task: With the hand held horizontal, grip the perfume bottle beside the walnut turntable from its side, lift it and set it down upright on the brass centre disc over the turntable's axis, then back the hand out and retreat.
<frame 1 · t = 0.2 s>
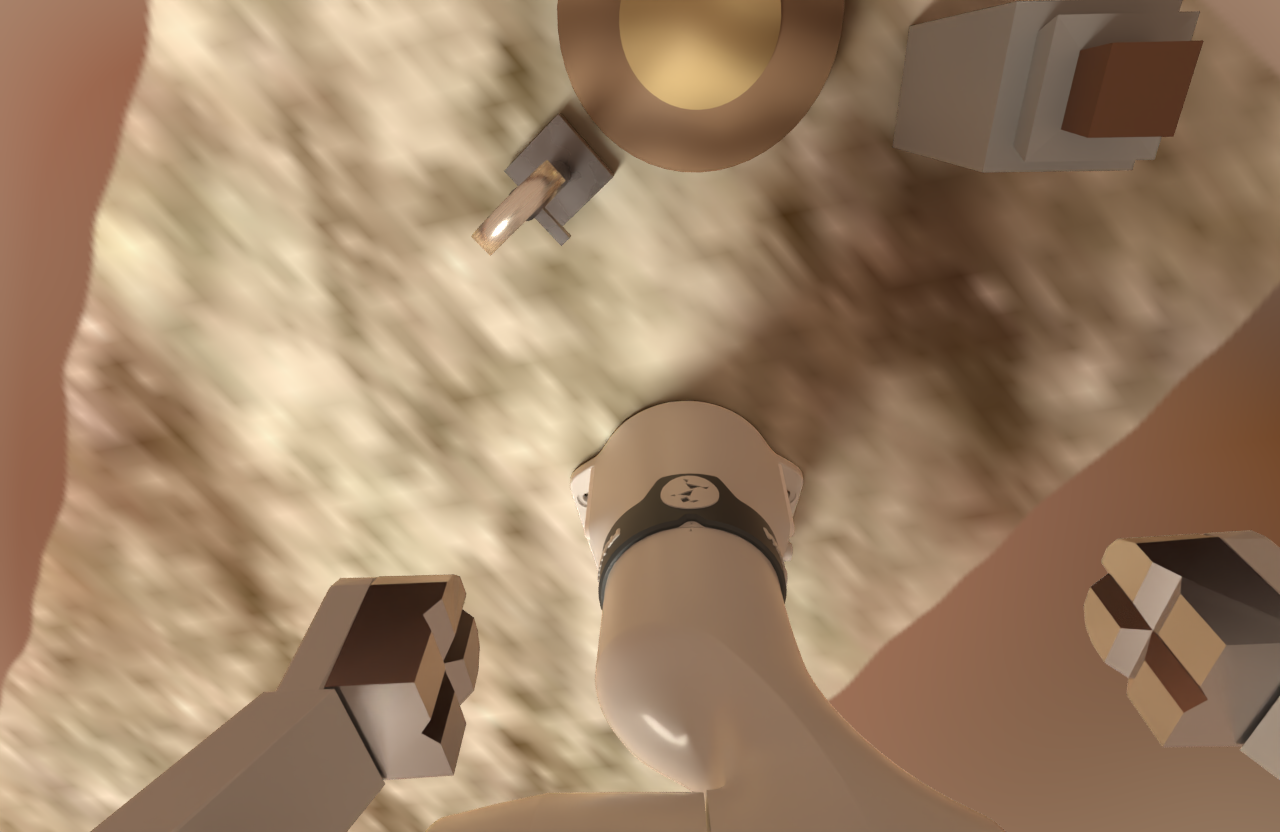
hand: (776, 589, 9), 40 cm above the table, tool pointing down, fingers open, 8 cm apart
perfume bottle: (954, 87, 41), on the table
dial indicator: (561, 171, 44), on the table
turntable: (698, 22, 38), point 2 cm above the table, hinge at 0.0°
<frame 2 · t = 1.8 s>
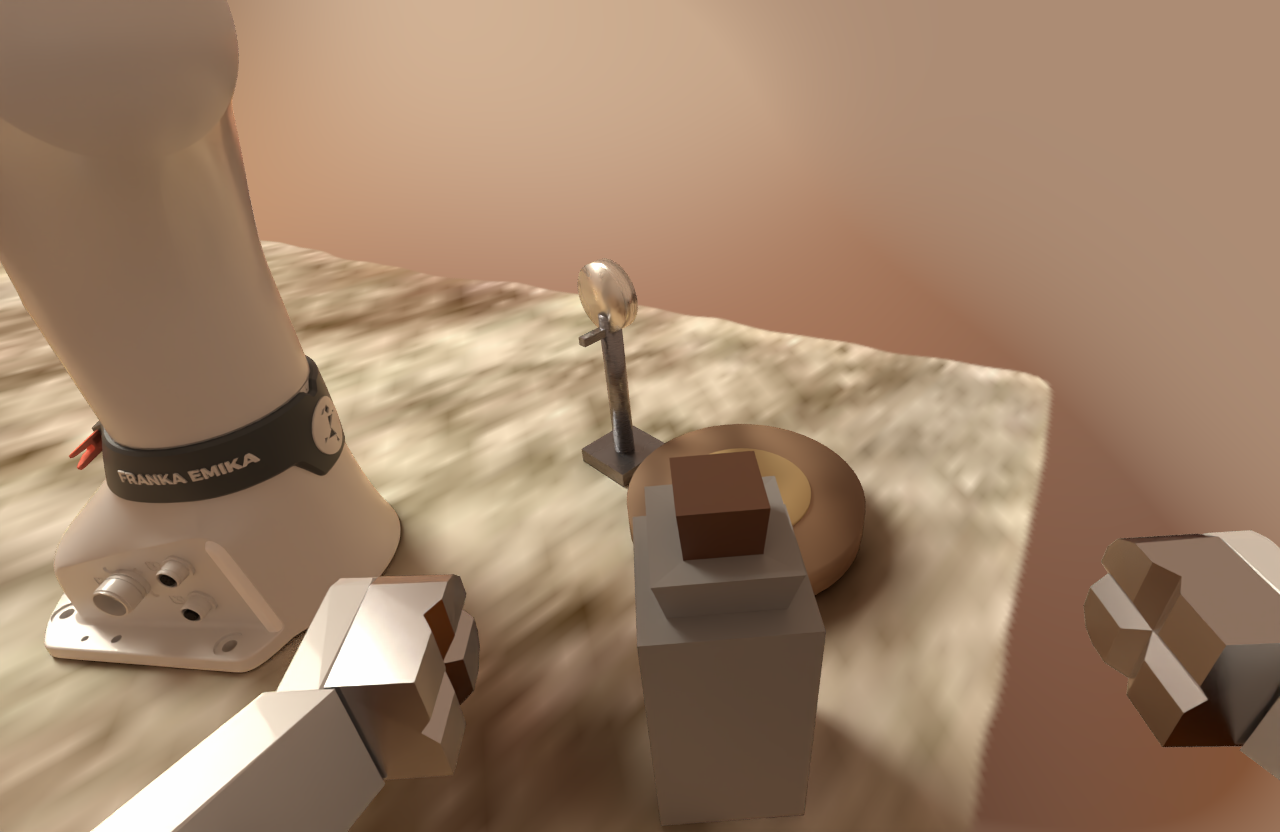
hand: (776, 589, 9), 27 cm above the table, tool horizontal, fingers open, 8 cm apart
perfume bottle: (722, 752, 34), on the table
dial indicator: (626, 458, 55), on the table
turntable: (742, 503, 46), point 2 cm above the table, hinge at 0.0°
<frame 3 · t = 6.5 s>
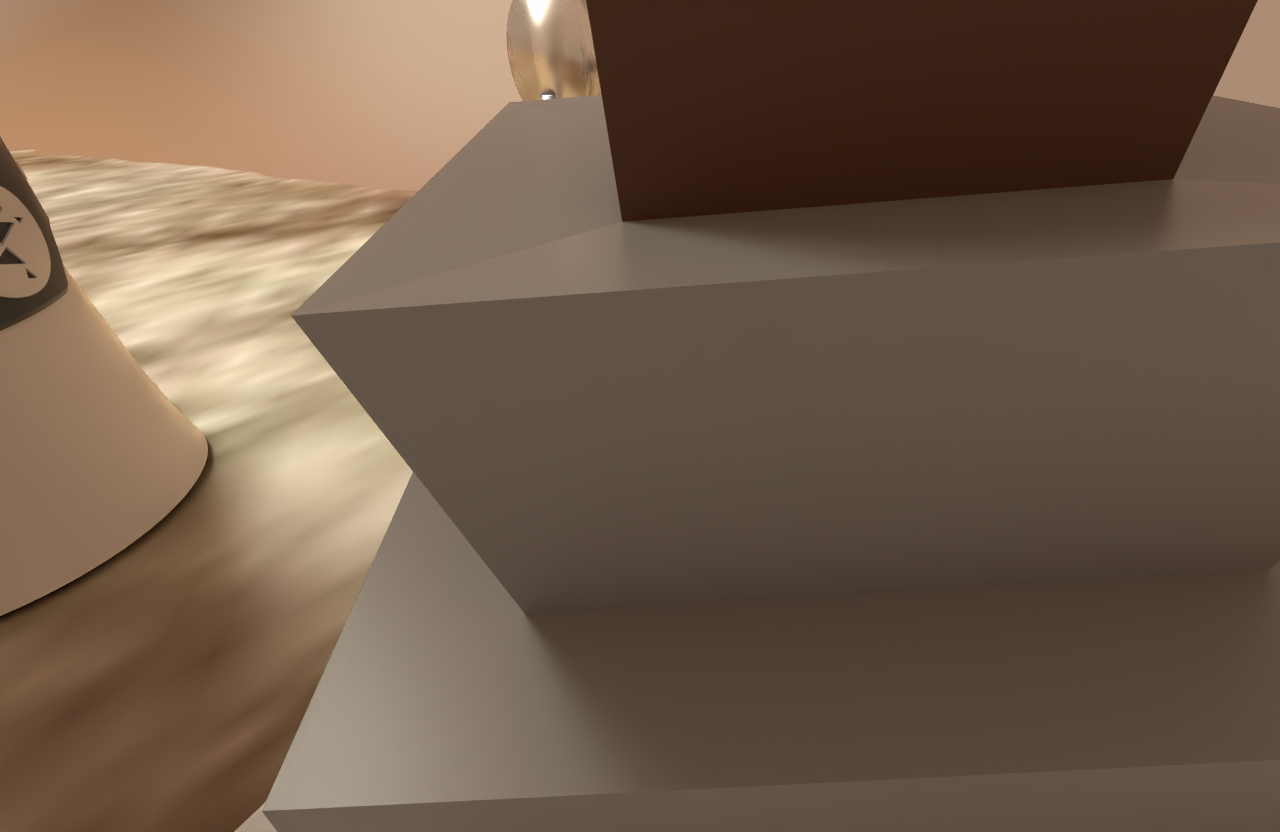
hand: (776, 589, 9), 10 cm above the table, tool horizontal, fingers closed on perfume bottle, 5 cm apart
dial indicator: (595, 374, 34), on the table
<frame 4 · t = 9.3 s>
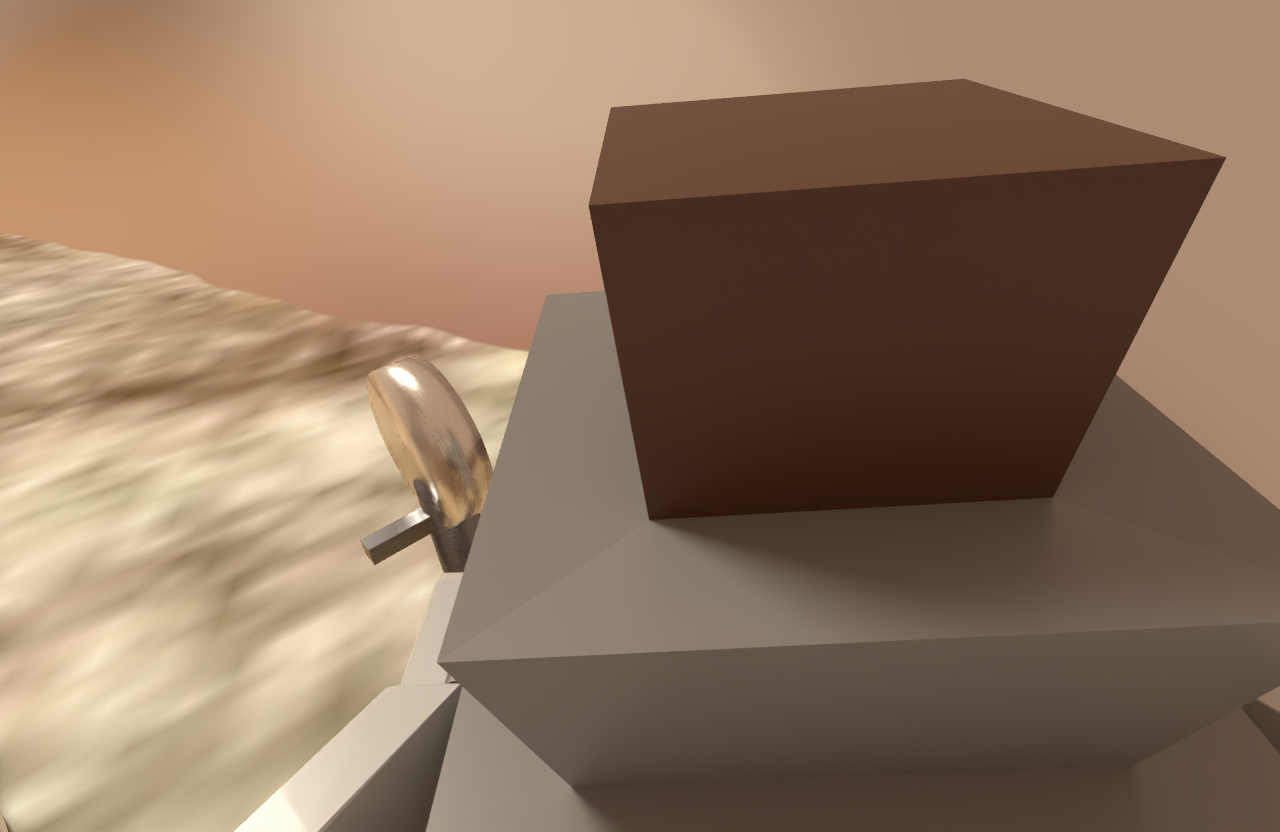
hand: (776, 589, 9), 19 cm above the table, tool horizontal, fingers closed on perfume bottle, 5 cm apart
dial indicator: (518, 726, 27), on the table
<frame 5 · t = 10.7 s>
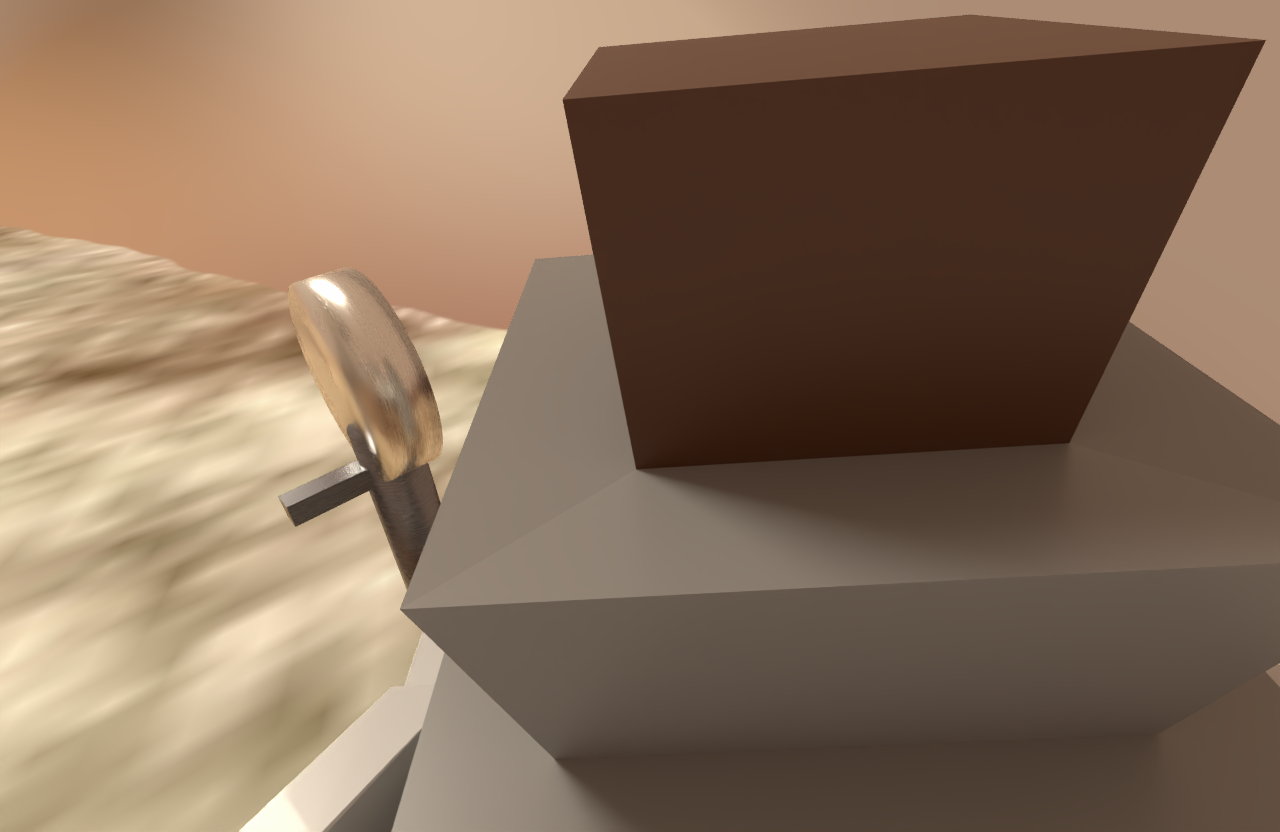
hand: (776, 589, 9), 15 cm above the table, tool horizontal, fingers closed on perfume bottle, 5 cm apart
dial indicator: (486, 729, 24), on the table
when the fingers open (15 cm above the table, at t = 11.0 s): perfume bottle stays where it is, resting on turntable.
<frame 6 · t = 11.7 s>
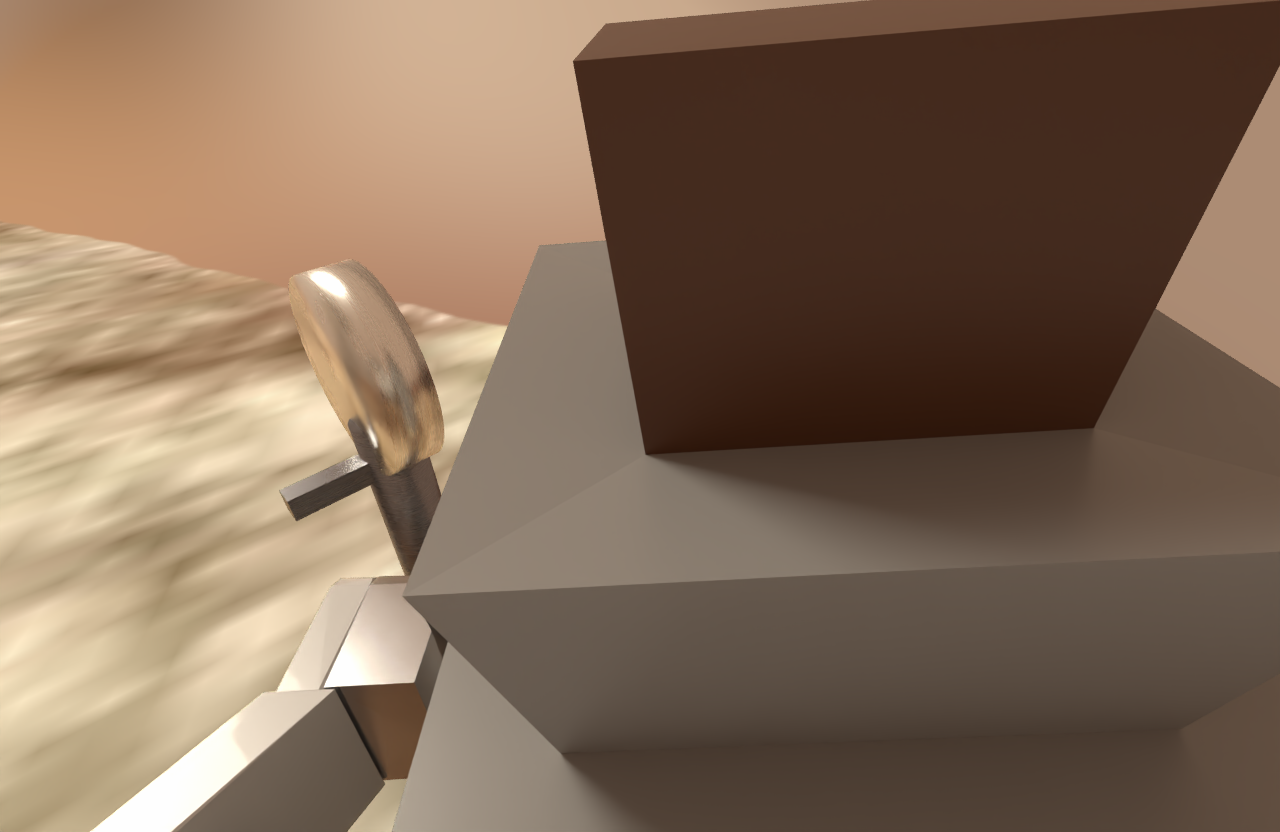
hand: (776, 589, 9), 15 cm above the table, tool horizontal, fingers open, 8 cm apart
dial indicator: (488, 725, 24), on the table
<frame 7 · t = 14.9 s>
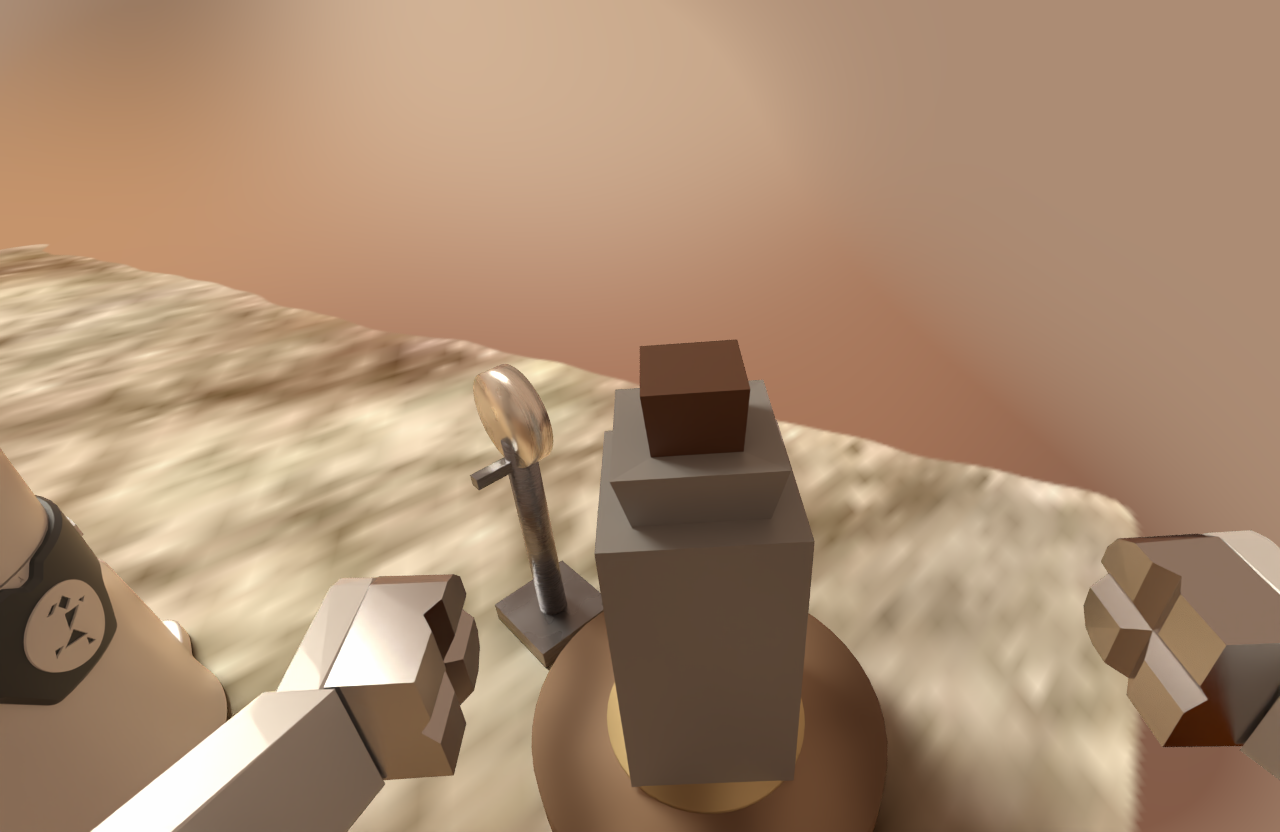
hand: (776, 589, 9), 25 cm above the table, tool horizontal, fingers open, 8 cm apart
perfume bottle: (705, 712, 31), point 3 cm above the table, touching turntable
dial indicator: (556, 617, 40), on the table
turntable: (705, 725, 31), point 2 cm above the table, hinge at 0.0°, touching perfume bottle
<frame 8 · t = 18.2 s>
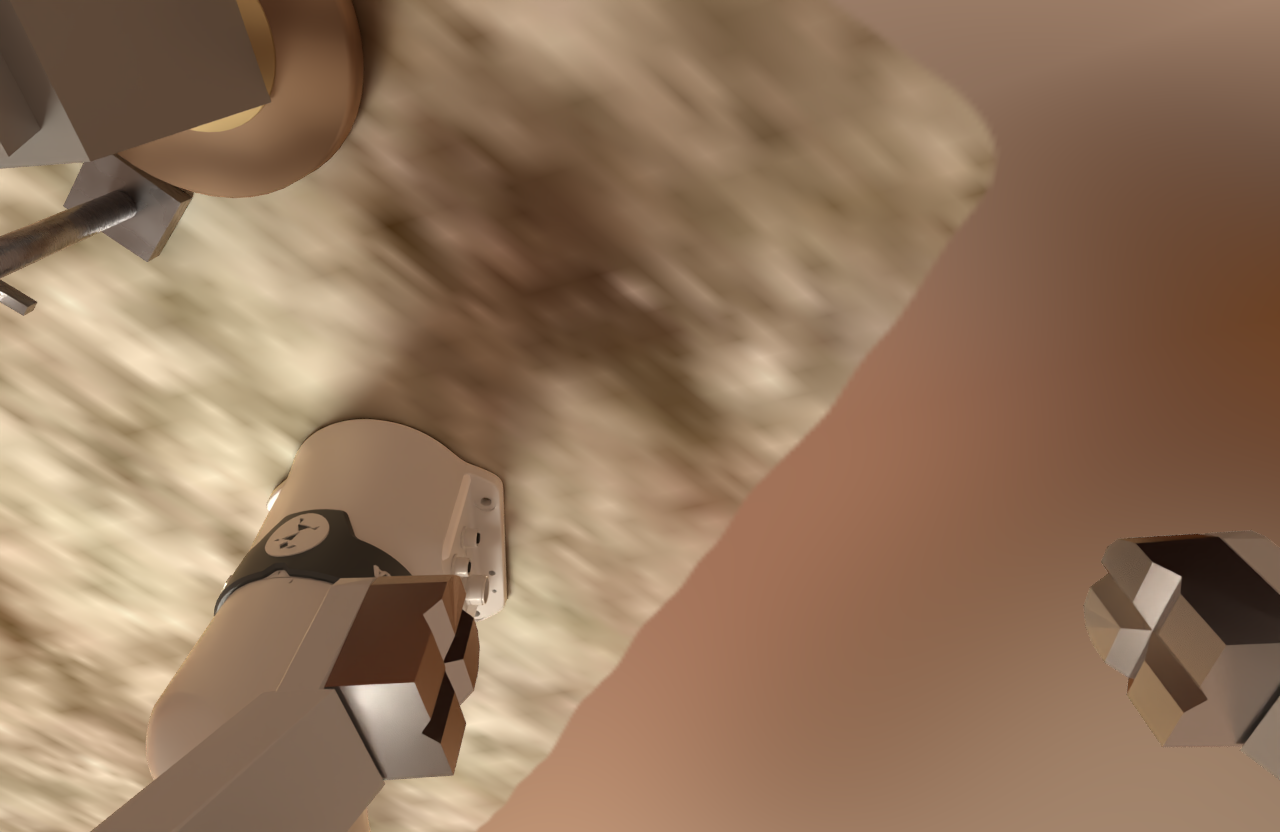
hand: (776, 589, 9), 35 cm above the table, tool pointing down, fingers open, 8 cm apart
perfume bottle: (181, 32, 33), point 3 cm above the table, touching turntable
dial indicator: (134, 199, 41), on the table
turntable: (193, 32, 34), point 2 cm above the table, hinge at 0.0°, touching perfume bottle
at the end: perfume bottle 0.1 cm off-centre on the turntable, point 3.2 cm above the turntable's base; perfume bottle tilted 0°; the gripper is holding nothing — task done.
